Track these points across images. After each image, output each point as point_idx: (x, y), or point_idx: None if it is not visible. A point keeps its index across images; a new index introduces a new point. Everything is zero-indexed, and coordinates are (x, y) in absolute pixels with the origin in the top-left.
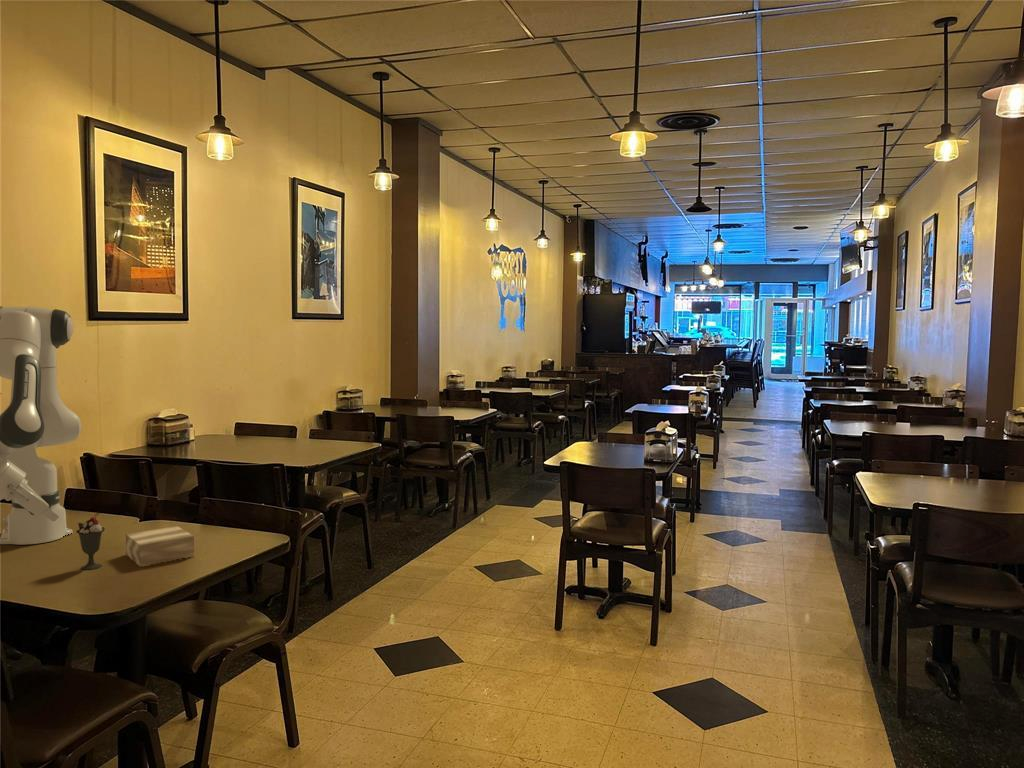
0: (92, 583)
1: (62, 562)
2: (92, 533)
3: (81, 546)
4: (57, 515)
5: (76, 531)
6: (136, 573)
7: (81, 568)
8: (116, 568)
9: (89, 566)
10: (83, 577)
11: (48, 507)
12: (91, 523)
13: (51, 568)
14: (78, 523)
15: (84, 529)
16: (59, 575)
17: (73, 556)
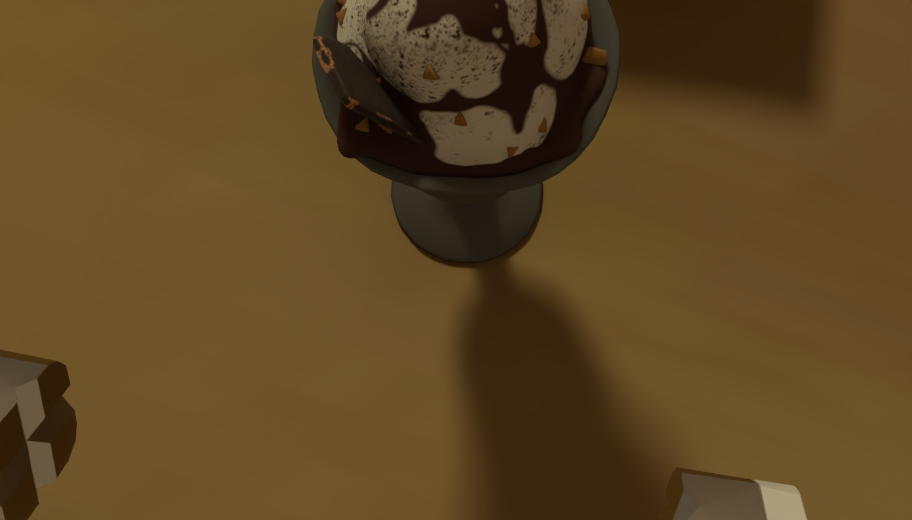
0: (902, 344)
1: (153, 290)
2: (602, 80)
3: (452, 199)
4: (799, 511)
5: (383, 172)
6: (881, 35)
7: (465, 259)
8: (646, 79)
9: (500, 209)
10: (694, 332)
11: (14, 406)
12: (522, 5)
13: (251, 412)
14: (350, 104)
15: (509, 113)
16: (498, 440)
17: (57, 170)
